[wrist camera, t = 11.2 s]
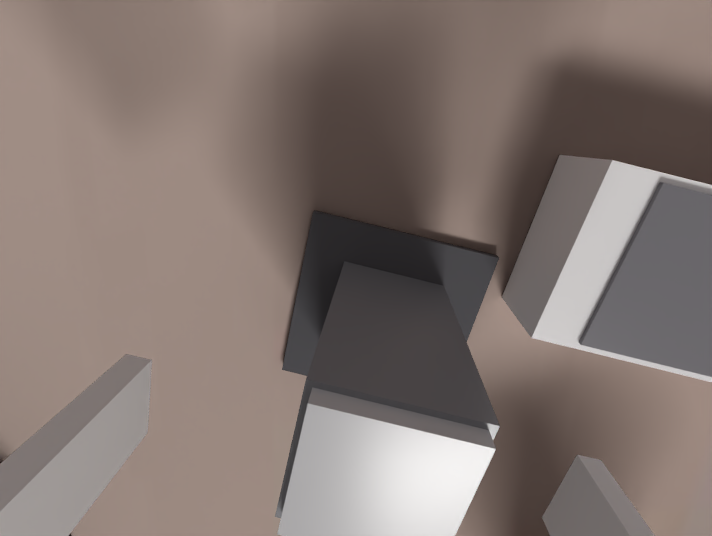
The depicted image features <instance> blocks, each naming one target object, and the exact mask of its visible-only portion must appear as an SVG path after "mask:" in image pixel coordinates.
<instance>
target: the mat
mask: <svg viewBox="0 0 712 536" xmlns="http://www.w3.org/2000/svg"><path fill="white" fill-rule="evenodd" d="M498 259H499V257H498V256H497V255H493V254H489V253H485V252H481V251H477V250H473V249H469V248H465V247H461V246H457V245H453V244H449V243H444V242H440V241H436V240H432V239H428V238H424V237H420V236H416V235H412V234H408V233H404V232H400V231H396V230H392V229H388V228H384V227H380V226H376V225H372V224H368V223H364V222H360V221H356V220H352V219H348V218H344V217H340V216H336V215H331V214H327V213H323V212H319V211H314V212H313V215H312V220H311V225H310V231H309V236H308V241H307V246H306V251H305V256H304V261H303V266H302V271H301V276H300V281H299V287H298V292H297V297H296V302H295V307H294V312H293V317H292V322H291V327H290V332H289V337H288V342H287V348H286V353H285V358H284V363H283V368H282V370H285V371H290V372H294V373H298V374H302V375H306V376H307V375H308V372H309V369H310V366H311V363H312V360H313V356H314V353H315V350H316V347H317V344H318V341H319V338H320V335H321V332H322V329H323V326H324V323H325V320H326V317H327V313H328V310H329V307H330V304H331V301H332V298H333V295H334V292H335V289H336V286H337V283H338V280H339V277H340V273H341V270H342V267H343V264H344V261H345V262H349V263H353V264H357V265H362V266H366V267H370V268H374V269H378V270H382V271H386V272H390V273H394V274H398V275H402V276H406V277H410V278H414V279H418V280H422V281H426V282H430V283H435V284H439V285H443V286H444V287H445V290H446V292H447V295H448V297H449V300H450V302H451V305H452V307H453V310H454V312H455V315H456V317H457V320H458V322H459V325H460V327H461V330H462V332H463V335H464V337H465V340H466V342H467V339H468V337H469V334H470V332H471V329H472V326H473V324H474V321H475V319H476V316H477V314H478V311H479V308H480V306H481V303H482V301H483V298H484V295H485V293H486V290H487V288H488V285H489V283H490V280H491V277H492V275H493V272H494V270H495V267H496V265H497V262H498Z"/></svg>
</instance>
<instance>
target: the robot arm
mask: <svg viewBox="0 0 712 536" xmlns="http://www.w3.org/2000/svg"><path fill="white" fill-rule="evenodd" d="M151 369H152V360H150V359H146V358H141V357H137V356H132V355H128V354H126V355H125V356H123V357H122V358H121V359H120V360H119V361H118V362H116V363H115V364H114V365H113V366H112V367H111V368H110V369H108V370H107V371H106V372H105V373H104V374H103V375H102V376H100V377H99V378H98V379H97V380H96V381H95V382H94V383H92V384H91V385H90V386H89V387H88V388H87V389H85V390H84V391H83V392H82V393H81V394H80V395H79V396H77V397H76V398H75V399H74V400H73V401H72V402H71V403H69V404H68V405H67V406H66V407H65V408H64V409H62V410H61V411H60V412H59V413H58V414H57V415H56V416H54V417H53V418H52V419H51V420H50V421H49V422H48V423H46V424H45V425H44V426H43V427H42V428H41V429H40V430H38V431H37V432H36V433H35V434H34V435H33V436H31V437H30V438H29V439H28V440H27V441H26V442H25V443H23V444H22V445H21V446H20V447H19V448H18V449H17V450H15V451H14V452H13V453H12V454H11V455H10V456H9V457H7V458H6V459H5V460H4V461H3V462H2V463H0V536H69V534H70V533H71V532H72V530H73V529H74V528H75V527H76V525H77V524H78V523H79V521H80V520H81V519H82V517H83V516H84V515H85V514H86V512H87V511H88V510H89V508H90V507H91V506H92V504H93V503H94V502H95V500H96V499H97V498H98V497H99V495H100V494H101V493H102V491H103V490H104V489H105V487H106V486H107V485H108V484H109V482H110V481H111V480H112V478H113V477H114V476H115V474H116V473H117V472H118V471H119V469H120V468H121V467H122V465H123V464H124V463H125V461H126V460H127V459H128V457H129V456H130V455H131V454H132V452H133V451H134V450H135V448H136V447H137V446H138V444H139V443H140V442H141V441H142V439H143V438H144V437H145V435H146V434H147V433H148V418H149V402H150V385H151ZM542 519H543V521H544V523H545V526H546V528H547V530H548V532H549V534H550V536H655V535H654V534H653V532H652V531H651V529H650V528H649V527H648V525H647V524H646V522H645V521H644V520H643V518H642V517H641V515H640V514H639V513H638V511H637V510H636V508H635V507H634V506H633V504H632V503H631V501H630V500H629V499H628V497H627V496H626V494H625V493H624V492H623V490H622V489H621V487H620V486H619V485H618V483H617V482H616V480H615V479H614V478H613V476H612V475H611V473H610V472H609V471H608V469H607V468H606V466H605V465H604V464H603V462H602V461H601V460H599V459H595V458H590V457H586V456H581V455H577V456H576V457H575V459H574V461H573V463H572V465H571V466H570V468H569V470H568V472H567V474H566V475H565V477H564V479H563V481H562V482H561V484H560V486H559V488H558V490H557V491H556V493H555V495H554V497H553V499H552V500H551V502H550V504H549V506H548V507H547V509H546V511H545V513H544V515H543V516H542Z"/></svg>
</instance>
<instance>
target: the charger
mask: <svg viewBox="0 0 712 536" xmlns="http://www.w3.org/2000/svg"><path fill="white" fill-rule="evenodd" d="M499 427H500V425H499V423H498V420H497V418H496V415H495V413H494V410H493V408H492V405H491V403H490V400H489V398H488V395H487V393H486V390H485V388H484V385H483V383H482V380H481V378H480V375H479V373H478V370H477V368H476V365H475V363H474V360H473V358H472V355H471V353H470V350H469V348H468V345H467V343H466V340H465V337H464V335H463V332H462V330H461V327H460V325H459V322H458V320H457V317H456V315H455V312H454V310H453V307H452V305H451V302H450V300H449V297H448V295H447V292H446V290H445V287H444V286H443V285H439V284H435V283H430V282H426V281H422V280H418V279H414V278H410V277H406V276H402V275H398V274H394V273H390V272H386V271H382V270H378V269H374V268H370V267H366V266H362V265H357V264H353V263H349V262H345V261H344V264H343V267H342V270H341V273H340V277H339V280H338V283H337V286H336V289H335V292H334V295H333V298H332V301H331V304H330V307H329V310H328V313H327V317H326V320H325V323H324V326H323V329H322V332H321V335H320V338H319V341H318V344H317V347H316V350H315V353H314V356H313V360H312V363H311V366H310V369H309V372H308V375H307V378H306V382H305V386H304V391H303V395H302V400H301V404H300V409H299V413H298V417H297V422H296V426H295V431H294V435H293V440H292V444H291V448H290V453H289V457H288V462H287V466H286V471H285V475H284V480H283V484H282V488H281V493H280V497H279V502H278V506H277V511H276V515H275V517H278V518H281V520H280V524H279V529H278V533H277V534H279V535H283V536H455V535H456V532H457V530H458V528H459V526H460V524H461V522H462V520H463V518H464V516H465V513H466V511H467V509H468V507H469V505H470V503H471V501H472V499H473V497H474V494H475V492H476V490H477V488H478V486H479V484H480V482H481V480H482V478H483V475H484V473H485V471H486V469H487V467H488V465H489V463H490V461H491V459H492V456H493V454H494V452H495V450H496V448H495V445H494V442H493V440H494V438H495V435H496V433H497V431H498V429H499Z"/></svg>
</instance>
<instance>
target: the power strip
mask: <svg viewBox="0 0 712 536" xmlns="http://www.w3.org/2000/svg"><path fill="white" fill-rule="evenodd" d="M502 298H503V300H504V301H505V302H506V304H507V305H508V306H509V308H510V309H511V311H512V312H513V313H514V315H515V316H516V317H517V319H518V320H519V322H520V323H521V324H522V326H523V327H524V328H525V330H526V331H527V332H528V334H529V335H530V337H531V338H534V339H538V340H542V341H546V342H550V343H554V344H558V345H563V346H567V347H571V348H575V349H579V350H583V351H587V352H591V353H595V354H599V355H603V356H607V357H611V358H615V359H619V360H624V361H628V362H632V363H636V364H640V365H644V366H648V367H652V368H656V369H660V370H664V371H668V372H672V373H676V374H680V375H685V376H689V377H693V378H697V379H701V380H705V381H709V382H712V185H710V184H706V183H702V182H698V181H694V180H690V179H686V178H682V177H678V176H674V175H670V174H666V173H662V172H658V171H654V170H650V169H646V168H642V167H638V166H634V165H630V164H626V163H622V162H618V161H614V160H607V159H597V158H587V157H577V156H567V155H559V158H558V160H557V163H556V165H555V168H554V170H553V172H552V175H551V177H550V180H549V182H548V185H547V187H546V190H545V192H544V195H543V197H542V200H541V202H540V204H539V207H538V209H537V212H536V214H535V217H534V219H533V222H532V224H531V227H530V229H529V232H528V234H527V236H526V239H525V241H524V244H523V246H522V249H521V251H520V254H519V256H518V259H517V261H516V264H515V266H514V268H513V271H512V273H511V276H510V278H509V281H508V283H507V286H506V288H505V291H504V293H503V296H502Z"/></svg>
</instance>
